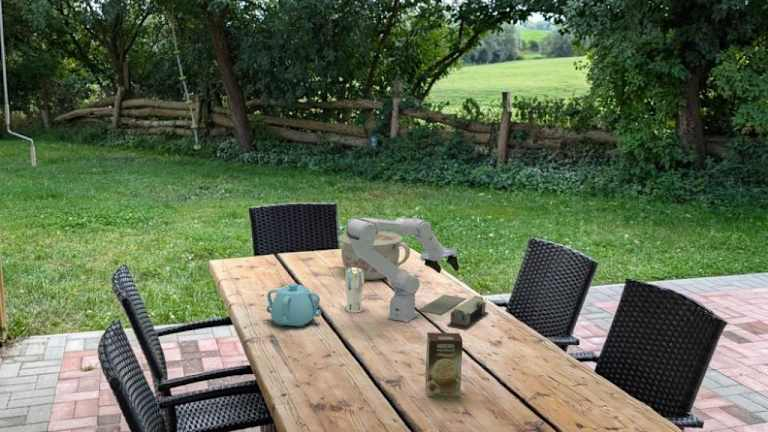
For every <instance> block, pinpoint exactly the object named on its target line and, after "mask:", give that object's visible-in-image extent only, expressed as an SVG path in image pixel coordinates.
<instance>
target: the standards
mask: <svg viewBox="0 0 768 432" xmlns="http://www.w3.org/2000/svg"><path fill="white" fill-rule="evenodd" d="M486 305H487V302H485V301H483V303H482V304H480V308H478V309H477V310H475V311H474V312H472V313H471V314H470V313H467V314H465V315H464V319H463V320H460V319H454V310H452V311H451V312H450V322H449V323H448V324H447V325H446V327H447V326H448V327H447V328H452V329H458V330H463V331H467V330H468V329H470V328H471V327H472V326H474V325H475V324H476V323H478V322H479V321H481V320H482V319H484V318H485V317H486V316H488V315H489V312H488V311H486Z"/></svg>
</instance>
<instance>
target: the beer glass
mask: <svg viewBox="0 0 768 432" xmlns="http://www.w3.org/2000/svg"><path fill="white" fill-rule="evenodd" d="M344 275H345V276H344V288H345V294H346V298H347V299H346V306H345V307H346V308H345V310H346V311H347V312H348V313H360V312H362V311H363V310H364V307H363V302H362V301H363V294H364V287H365V280H364V270H363V269H361V268H348V269H346V268H345V271H344Z"/></svg>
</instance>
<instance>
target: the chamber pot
mask: <svg viewBox="0 0 768 432" xmlns="http://www.w3.org/2000/svg"><path fill="white" fill-rule="evenodd" d="M337 237H338V238H337V240H338V241H339V242H341V243H342V244H343V245H342V247H341V253H340V254H341V255H340V256H341V261H342V264H343V266H344V268H345V270H346V269H348V268H361V269H363V270H364V281H379V280H383V279H385V278H386V279H387V277H386V276H384V275H383V274H382V273H380V272H379V271H378V270H376V269H375V268H374V267H372V266H371V265H369V264H368V263H367V262H365V261H364V260H363V259H361V258H360V257H359V256H357V255H356V254H355V252H354V249H353V247H352V245H351V242H350V240H349V239H348V238H347V236H346V232H345V233H342V234H339V236H337ZM403 240H404V237H403V235H402V234H397V233H396V232H392V231H389V230H379V233H378V234H376V236H375V240H374V244H373V248H372V249H374V250H375V251H376V252H378V253H379V254H380V255H382V256H383V257H384V258H385V259H387V260H388V261H389V262H391V263H392V264H393V265H395V266H396V267H397V268H399V267H400V266H401V265H403V264H405V263H406V262H407V260H408V259H409V258H410V254H411V252H410V246H409V245H408V244H407V243H406V242H405V241H403ZM401 247H402V248H403V249H404V253H405V254H404V257H403V258H402V259H401V260H399V259H400V255H401V254H400V248H401Z"/></svg>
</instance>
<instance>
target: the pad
mask: <svg viewBox="0 0 768 432" xmlns="http://www.w3.org/2000/svg"><path fill="white" fill-rule="evenodd" d="M465 300H467V298H466V297H460V296H454V295H448V294H443V295H441V296H440V297H437V299H434V300H433V301H432V302H430V303H428V304H426V305H424V306H423V307H421V308H420V309H418V312H421V313H426V314H427V313H428V314H432V315H440V316H442V315H444V314H445V313H446V312H448V311H449V310H451V309H453V308H454V307H456V306H457V305H459V304H461V303H462V302H464V301H465Z"/></svg>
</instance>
